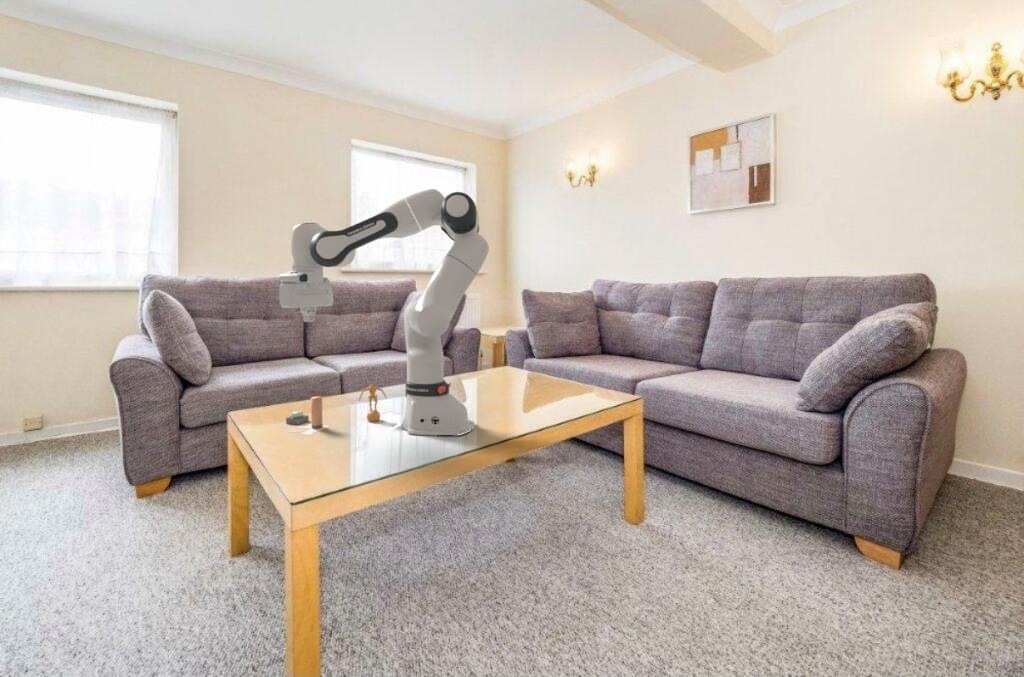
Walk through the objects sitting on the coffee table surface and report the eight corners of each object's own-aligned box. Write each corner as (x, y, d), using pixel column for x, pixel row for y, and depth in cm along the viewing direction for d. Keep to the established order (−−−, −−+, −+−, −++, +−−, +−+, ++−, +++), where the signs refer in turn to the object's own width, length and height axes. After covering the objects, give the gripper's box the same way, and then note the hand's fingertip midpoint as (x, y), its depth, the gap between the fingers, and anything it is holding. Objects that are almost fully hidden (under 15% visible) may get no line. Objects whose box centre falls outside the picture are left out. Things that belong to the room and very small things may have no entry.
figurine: (360, 425, 142) (359, 387, 141) (358, 420, 148) (358, 383, 146) (388, 423, 145) (387, 385, 144) (385, 418, 151) (385, 381, 149)
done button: (305, 419, 143) (305, 411, 143) (298, 422, 140) (298, 414, 140) (296, 418, 144) (296, 410, 143) (289, 421, 141) (289, 413, 140)
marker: (324, 426, 138) (324, 396, 137) (318, 429, 135) (317, 399, 134) (316, 425, 139) (315, 396, 138) (309, 428, 136) (308, 398, 135)
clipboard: (335, 426, 141) (335, 418, 141) (308, 438, 129) (308, 430, 129) (296, 421, 145) (296, 414, 144) (267, 433, 133) (266, 425, 133)
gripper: (321, 277, 153) (322, 319, 155) (274, 275, 134) (276, 323, 135) (337, 277, 152) (338, 319, 153) (292, 276, 132) (294, 324, 134)
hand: (308, 321), depth 144 cm, fingers closed
